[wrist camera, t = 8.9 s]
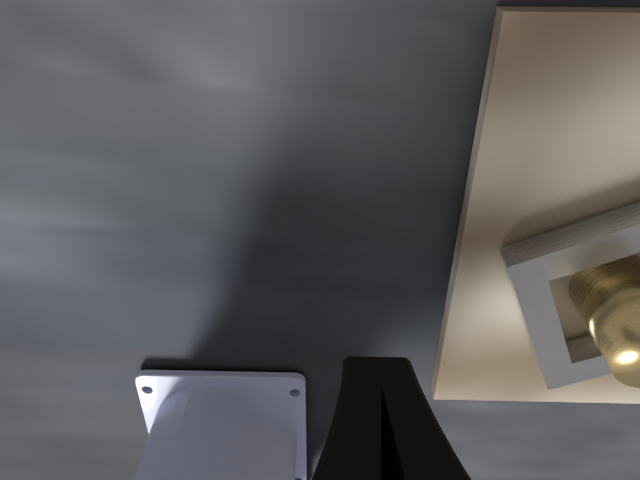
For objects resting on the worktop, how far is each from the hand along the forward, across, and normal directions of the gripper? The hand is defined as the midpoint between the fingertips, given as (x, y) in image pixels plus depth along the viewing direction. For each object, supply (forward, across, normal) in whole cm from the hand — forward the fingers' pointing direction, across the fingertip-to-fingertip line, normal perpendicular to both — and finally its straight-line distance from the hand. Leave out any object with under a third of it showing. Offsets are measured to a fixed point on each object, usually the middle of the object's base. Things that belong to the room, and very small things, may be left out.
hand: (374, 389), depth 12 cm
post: (+9, -10, +4) cm, 14 cm away
